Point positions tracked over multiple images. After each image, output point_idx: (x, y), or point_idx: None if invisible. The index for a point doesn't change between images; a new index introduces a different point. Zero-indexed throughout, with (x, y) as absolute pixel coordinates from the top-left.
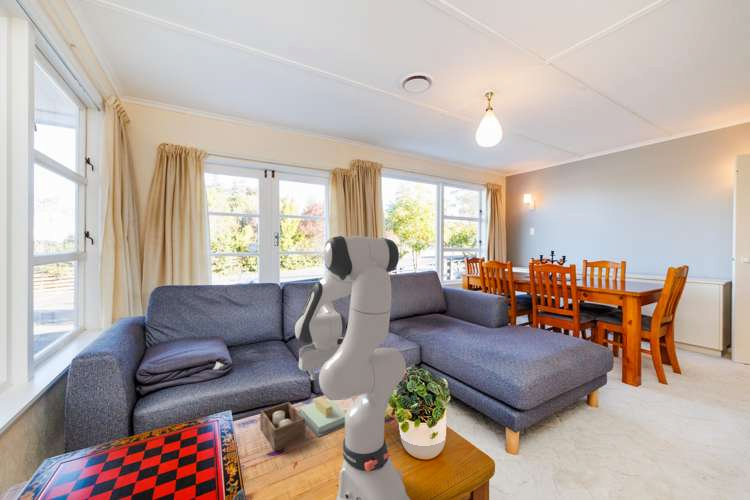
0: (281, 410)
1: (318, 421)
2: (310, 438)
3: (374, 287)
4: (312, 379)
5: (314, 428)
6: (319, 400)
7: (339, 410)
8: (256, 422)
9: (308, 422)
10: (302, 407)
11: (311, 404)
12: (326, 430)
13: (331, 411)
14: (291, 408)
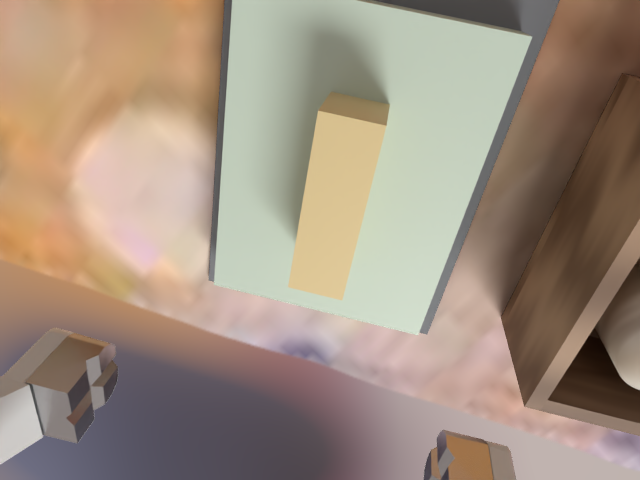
0: (584, 380)
1: (467, 109)
2: (600, 39)
3: None
4: (509, 455)
5: None
6: (332, 264)
7: (248, 97)
8: None
9: None
10: (405, 325)
11: (341, 307)
12: (457, 13)
13: (334, 101)
14: (580, 336)
